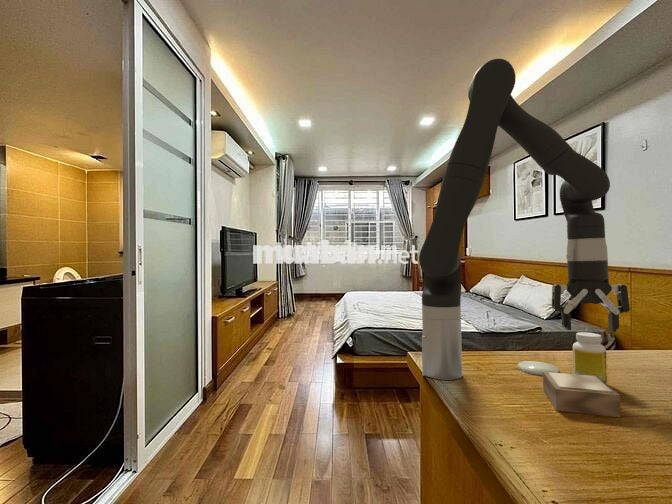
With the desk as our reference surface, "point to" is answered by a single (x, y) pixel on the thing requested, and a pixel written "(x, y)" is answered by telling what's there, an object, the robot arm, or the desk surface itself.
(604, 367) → the pill bottle
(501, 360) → the desk surface
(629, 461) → the desk surface
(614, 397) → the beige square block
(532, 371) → the pale white disc
